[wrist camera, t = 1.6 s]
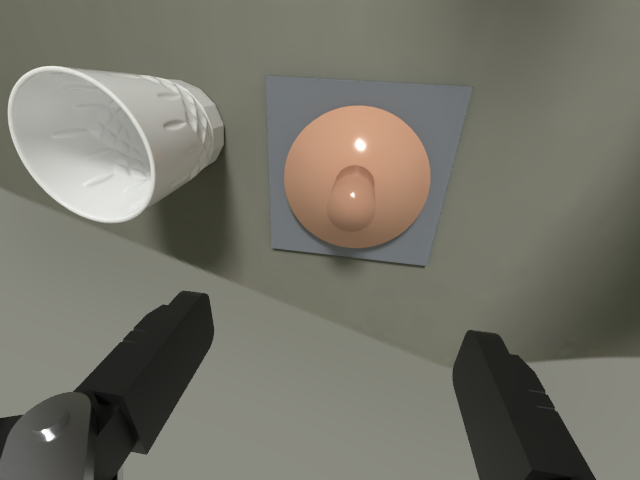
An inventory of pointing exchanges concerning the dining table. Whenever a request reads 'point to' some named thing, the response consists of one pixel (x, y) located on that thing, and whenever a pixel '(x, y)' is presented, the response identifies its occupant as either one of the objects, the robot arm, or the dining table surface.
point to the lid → (357, 176)
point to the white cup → (111, 137)
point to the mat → (398, 98)
